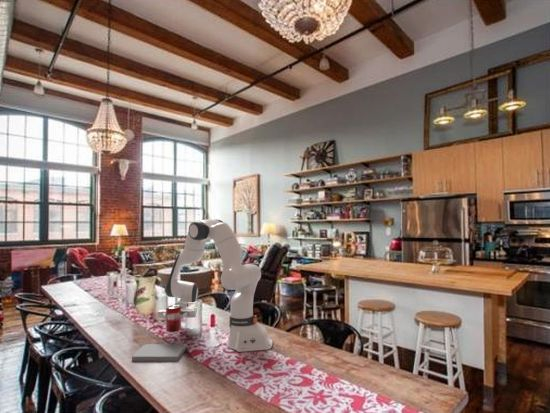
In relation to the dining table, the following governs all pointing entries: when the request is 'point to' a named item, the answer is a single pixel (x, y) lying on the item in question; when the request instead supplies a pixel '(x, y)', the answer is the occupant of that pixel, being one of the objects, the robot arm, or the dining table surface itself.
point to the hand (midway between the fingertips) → (173, 317)
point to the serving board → (159, 352)
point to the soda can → (173, 318)
